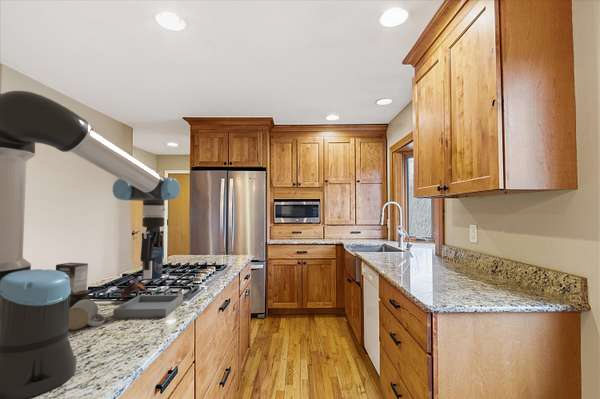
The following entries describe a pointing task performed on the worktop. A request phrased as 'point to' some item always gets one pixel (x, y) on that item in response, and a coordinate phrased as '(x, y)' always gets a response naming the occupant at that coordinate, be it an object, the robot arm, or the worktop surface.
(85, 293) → the mate gourd
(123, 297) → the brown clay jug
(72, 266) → the coffee box
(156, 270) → the soda can
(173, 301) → the tray
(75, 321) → the ceramic mug
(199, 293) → the worktop surface
